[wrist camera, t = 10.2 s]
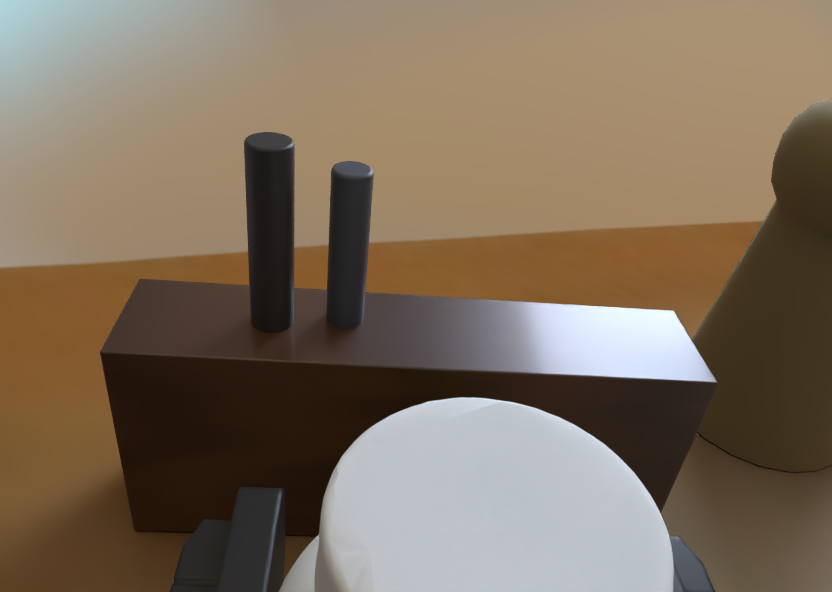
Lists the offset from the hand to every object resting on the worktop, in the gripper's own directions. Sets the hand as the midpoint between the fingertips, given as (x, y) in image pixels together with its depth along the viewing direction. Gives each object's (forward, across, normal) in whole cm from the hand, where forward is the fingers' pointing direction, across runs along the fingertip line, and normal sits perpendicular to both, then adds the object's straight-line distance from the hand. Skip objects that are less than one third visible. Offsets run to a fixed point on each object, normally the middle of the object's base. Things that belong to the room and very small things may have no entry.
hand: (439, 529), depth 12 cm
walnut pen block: (+6, 0, +6) cm, 8 cm away
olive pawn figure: (+10, -13, +6) cm, 18 cm away
